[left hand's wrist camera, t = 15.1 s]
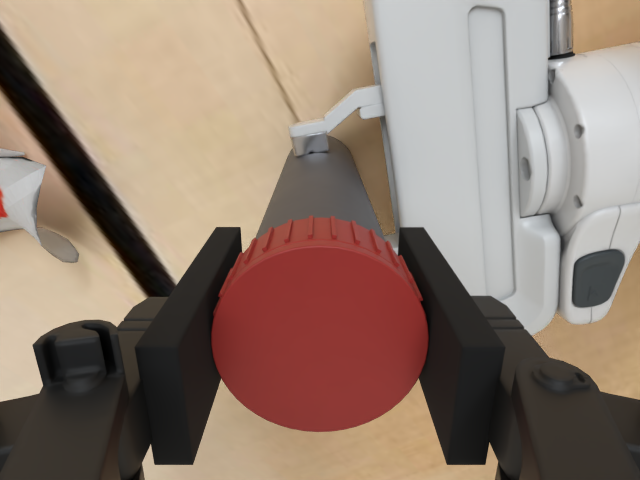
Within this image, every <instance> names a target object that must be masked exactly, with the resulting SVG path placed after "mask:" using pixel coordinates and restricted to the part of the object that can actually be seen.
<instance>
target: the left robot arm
mask: <svg viewBox="0 0 640 480" xmlns="http://www.w3.org/2000/svg"><path fill="white" fill-rule="evenodd" d="M240 252H242V244H241V229H240V227H216V228H215V230H214V231H213V233H212V234H211V236H210V237H209V239H208V240H207V242H206V243H205V245H204V246H203V248H202V249H201V250H200V252H199V253H198V255H197V256H196V258H195V259H194V261H193V262H192V264H191V265H190V267H189V268H188V269H187V271H186V272H185V274H184V275H183V277H182V278H181V280H180V281H179V283H178V284H177V286H176V287H175V288H174V290H173V291H172V293H171V294H170V296H169V297H149V298H147V299H146V300H144V301H142V302H141V303H139V304H138V305H136V306H134V307H133V308H132V309H131V311H130V312H129V313H128V314H127V316H126V317H125V318H124V321H122V322H121V323H120V324H119V326H118V327H116V326H115V325H113V324H112V323H111V322H107V321H103V320H83V321H78V322H73V323H69V324H66V325H63V326H60V327H58V328H55V329H53V330H51V331H49V332H48V333H46V334H44V335H43V336H41V337H40V338H39V339H38V340H37V341H36V342H35V343H34V344H33V349H34V352H35V356H36V360H37V364H38V367H39V371H40V375H41V379H42V382H43V387H42V389H41V391H40V393H39V394H36V395H32V396H28V397H23V398H18V399H13V400H8V401H3V402H0V480H145V479H144V472H143V466H142V462H143V459H144V457H145V455H146V453H147V451H148V449H149V446H150V444H151V446H152V452H153V458H154V464H155V465H193V463H194V460H195V457H196V454H197V451H198V448H199V445H200V442H201V439H202V435H203V432H204V429H205V426H206V423H207V420H208V417H209V414H210V411H211V408H212V405H213V402H214V399H215V396H216V393H217V390H218V386H219V383H220V380H221V376H220V374H219V372H218V370H217V367H216V364H215V361H214V358H213V353H212V346H211V330H212V323H213V318H214V316H213V312H214V310H215V307H216V305H217V303H218V301H219V299H220V297H218V295H219V293H220V291H221V289H222V286H223V284H224V282H225V280H226V278H227V276H228V273H229V271H230V269H231V268H232V269H233V267H234V264H235V262H236V260H237V258H238V256H239V254H240ZM400 255H402V257H403V259H404V261H405V263H406V265H407V268H408V270H409V272H411V274H412V276H413V278H414V281H415V283H416V285H417V287H418V289H419V291H420V294H421V296H422V298H423V300H422V301H420V302H421V305H422V307H423V309H424V311H425V314H426V316H427V317H426V320H427V324H428V333H429V342H428V351H427V356H426V361H425V364H424V366H423V369H422V372H421V374H420V376H419V380H420V383H421V386H422V390H423V393H424V396H425V399H426V402H427V405H428V408H429V411H430V414H431V417H432V420H433V423H434V426H435V429H436V432H437V435H438V439H439V442H440V445H441V448H442V451H443V454H444V457H445V460H446V463H447V465H485V464H486V458H487V452H488V446H489V442H490V444H491V446H492V448H493V451H494V453H495V455H496V457H497V459H498V466H497V472H496V477H495V480H640V400H637V399H632V398H628V397H623V396H618V395H613V394H608V393H604V392H600V391H599V389H598V387H597V385H596V384H595V382H594V381H593V380H592V379H591V377H590V376H589V375H587V374H586V373H585V372H583V371H582V370H580V369H579V368H577V367H575V366H573V365H571V364H568V363H566V362H564V361H560V360H556V359H552V358H549V357H548V356H547V354H546V353H545V352H544V351H543V349H542V348H541V347H540V346H539V345H538V343H537V342H536V341H535V340H534V338H533V337H532V336H531V335H530V333H529V332H528V331H527V330H526V329H524V326H523V325H522V324H521V322H520V321H519V320H516V316H515V315H514V314H513V313H512V311H511V310H510V309H509V308H508V306H507V305H505V304H503V303H502V302H500V301H499V300H497V299H495V298H494V297H492V296H470V294H469V293H468V291H467V290H466V288H465V287H464V286H463V284H462V283H461V281H460V280H459V278H458V277H457V275H456V274H455V272H454V271H453V269H452V268H451V267H450V265H449V264H448V262H447V261H446V259H445V258H444V256H443V255H442V253H441V252H440V250H439V249H438V248H437V246H436V245H435V243H434V242H433V240H432V239H431V237H430V236H429V234H428V233H427V231H426V230H425V228H424V227H400V229H399V244H398V256H400Z"/></svg>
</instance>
